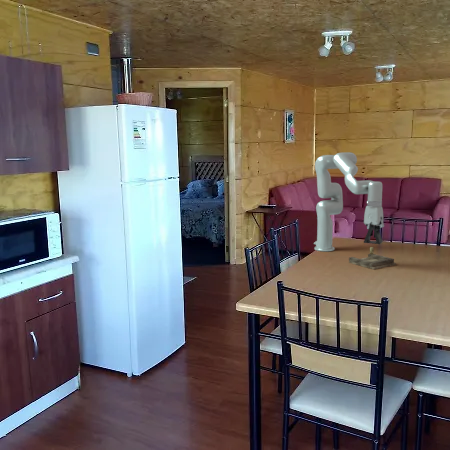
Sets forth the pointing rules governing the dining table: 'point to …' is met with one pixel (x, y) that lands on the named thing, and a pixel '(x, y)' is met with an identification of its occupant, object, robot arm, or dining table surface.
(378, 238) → the phone stand
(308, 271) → the dining table surface
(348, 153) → the robot arm
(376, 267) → the board
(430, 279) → the dining table surface
